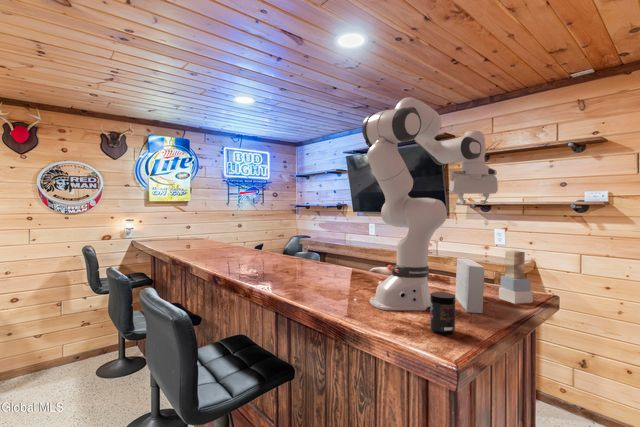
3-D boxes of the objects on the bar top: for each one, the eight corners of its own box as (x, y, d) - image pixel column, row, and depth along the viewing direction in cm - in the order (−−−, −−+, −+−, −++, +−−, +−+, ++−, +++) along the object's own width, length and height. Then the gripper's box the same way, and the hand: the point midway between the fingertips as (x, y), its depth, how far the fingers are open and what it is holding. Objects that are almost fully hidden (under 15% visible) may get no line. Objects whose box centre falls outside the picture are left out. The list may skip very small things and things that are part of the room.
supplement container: (445, 326, 100) (445, 291, 100) (460, 334, 93) (460, 297, 93) (425, 328, 98) (425, 292, 98) (439, 336, 91) (439, 298, 91)
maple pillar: (513, 278, 127) (514, 252, 127) (504, 276, 131) (505, 250, 131) (524, 278, 128) (524, 252, 128) (515, 276, 132) (515, 250, 132)
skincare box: (484, 314, 112) (485, 266, 111) (467, 313, 113) (467, 266, 112) (469, 298, 132) (470, 257, 132) (455, 297, 133) (455, 257, 133)
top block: (513, 291, 125) (513, 279, 125) (500, 287, 132) (500, 275, 132) (530, 291, 126) (530, 279, 126) (516, 286, 133) (516, 275, 133)
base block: (514, 304, 124) (514, 292, 124) (498, 298, 132) (498, 287, 132) (532, 303, 126) (532, 291, 126) (515, 297, 134) (515, 286, 134)
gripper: (455, 169, 134) (454, 204, 134) (500, 171, 138) (500, 204, 138) (446, 171, 140) (446, 204, 140) (489, 172, 144) (489, 204, 144)
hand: (473, 204), depth 139 cm, fingers open, 8 cm apart
